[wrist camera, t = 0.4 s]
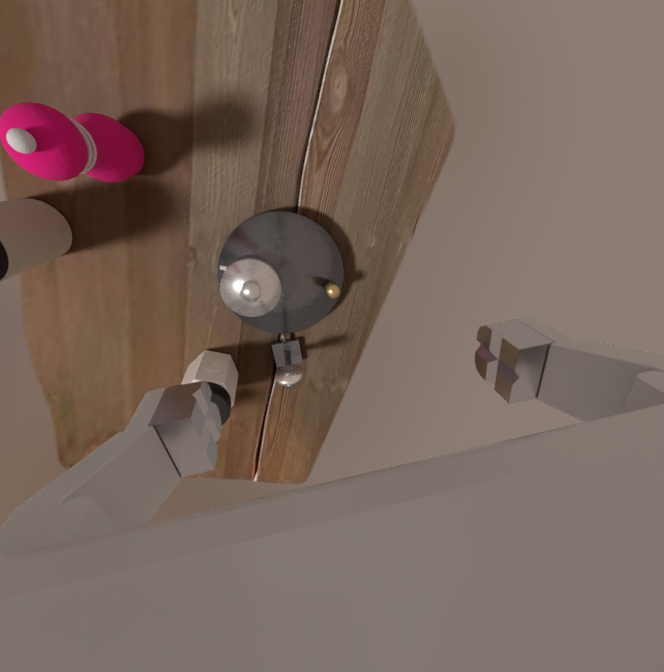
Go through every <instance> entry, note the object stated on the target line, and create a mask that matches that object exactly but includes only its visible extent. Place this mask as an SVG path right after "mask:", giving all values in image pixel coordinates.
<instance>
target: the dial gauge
mask: <svg viewBox="0 0 664 672" xmlns="http://www.w3.org/2000/svg"><path fill="white" fill-rule="evenodd" d="M281 335H282V340H280V341H274V342H271V345H272V349H273V354H274V358H275V362H276V366H277V367H282V368H280V369H279V370H278V371H277V372H276V373H275V378H276V382H277V383H278V384H280V385H287V388H288V389H293V388H294V384H295V383H297V382H298V381H300V380H301V378H302V376H303V374H302V369H301V368H300V367H298V366H295V365H293V364H298V363H303V360H302V355H301V350H300V345H299V340H298V337H296V338H290V339H286V338H285V333H281ZM283 366H285V367H283Z"/></svg>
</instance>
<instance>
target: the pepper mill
mask: <svg viewBox="0 0 664 672" xmlns="http://www.w3.org/2000/svg"><path fill="white" fill-rule="evenodd" d="M0 138H1V142H2V144H3V146H4V148H5V149H6V151H7V152H8V153H9V155H10V156H11V157H12V158H13V160H14V161H15V162H16V163H18V164H19V165H20V166H21V167H22V168H24V169H25V170H27V171H28V172H30V173H32V174H34V175H36V176H39V177H41V178H45V179H49V180H56V181H64V180H69V179H71V178H74V177H77V176H78V175H79V174H83V173H86V174H87V175H89V176H91V177H93V178H95V179H97V180H101V181H105V182H121V181H124V180H126V179H128V178H130V177H131V176H133V175H135V174H137V173H138V172H139V171H140V170H141V169H142V167H143V165H144V150H143V147H142V145H141V143H140V141H139V139H138V138H137V137H136V135H135V134H134V133H133V132H132V131H130V130H129V129H128V128H126V127H125V126H123V125H121V124H120V123H119V122H117V121H116V120H114V119H112V118H110V117H108V116H105V115H102V114H96V113H84V114H81V115H79V116H76V117H75V118H73V119H71V118H69V117H66V116H65V115H64V114H62V113H61V112H59V111H57V110H56V109H54V108H51V107H49V106H46V105H43V104H40V103H32V102H24V103H18V104H15V105H13V106H11V107H9V108H8V109H6V110H5V111H4V113H3V114H2V116H1V118H0Z"/></svg>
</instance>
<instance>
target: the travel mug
mask: <svg viewBox="0 0 664 672" xmlns="http://www.w3.org/2000/svg"><path fill="white" fill-rule="evenodd" d="M71 244H72V232H71V229H70V226H69V224H68V222H67V221H66V219H65V218H64V217H63V216H62V215H61V214H60V213H59V212H58V211H57V210H56V209H55V208H53V207H52V206H50V205H48V204H46V203H44V202H42V201H39V200H35V199H17V200H9V201H2V202H0V281H2V280H5V279H7V278H9V277H12V276H14V275H16V274H19V273H21V272H23V271H26V270H28V269H31V268H33V267H35V266H38V265H40V264H42V263H45V262H47V261H49V260H52V259H54V258H56V257H59V256H61V255H63V254H64V253H66V252H67V251H68V250H69V248H70V246H71Z"/></svg>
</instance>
